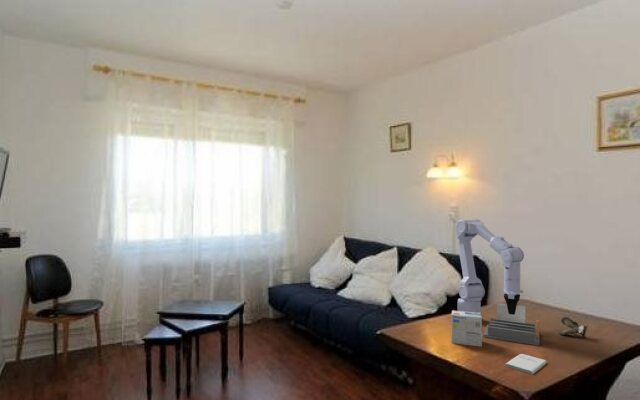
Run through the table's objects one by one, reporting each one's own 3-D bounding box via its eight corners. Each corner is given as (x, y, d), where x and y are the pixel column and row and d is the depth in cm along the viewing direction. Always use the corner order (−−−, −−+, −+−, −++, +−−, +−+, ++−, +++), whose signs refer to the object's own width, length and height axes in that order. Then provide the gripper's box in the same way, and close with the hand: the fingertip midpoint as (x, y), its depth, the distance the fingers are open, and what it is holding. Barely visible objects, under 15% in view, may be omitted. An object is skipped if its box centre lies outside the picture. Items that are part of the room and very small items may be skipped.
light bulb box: (481, 341, 152) (481, 312, 152) (482, 347, 146) (482, 317, 146) (451, 337, 156) (451, 309, 156) (451, 343, 149) (451, 314, 149)
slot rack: (483, 337, 156) (483, 318, 156) (487, 326, 169) (487, 310, 169) (539, 345, 147) (539, 326, 147) (538, 334, 160) (539, 316, 160)
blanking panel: (496, 319, 160) (497, 304, 160) (497, 318, 161) (497, 303, 161) (525, 323, 155) (525, 307, 155) (525, 322, 157) (525, 306, 157)
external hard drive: (505, 368, 129) (520, 357, 138) (532, 376, 123) (546, 364, 132) (505, 363, 129) (520, 352, 138) (532, 371, 123) (546, 360, 132)
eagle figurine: (586, 331, 160) (560, 323, 165) (589, 319, 156) (562, 311, 162) (582, 346, 156) (556, 337, 161) (585, 334, 152) (558, 325, 157)
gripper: (523, 283, 150) (522, 319, 150) (523, 276, 163) (523, 310, 163) (502, 281, 153) (502, 317, 153) (504, 274, 166) (504, 307, 166)
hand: (511, 313), depth 158 cm, fingers closed on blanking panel, 1 cm apart
